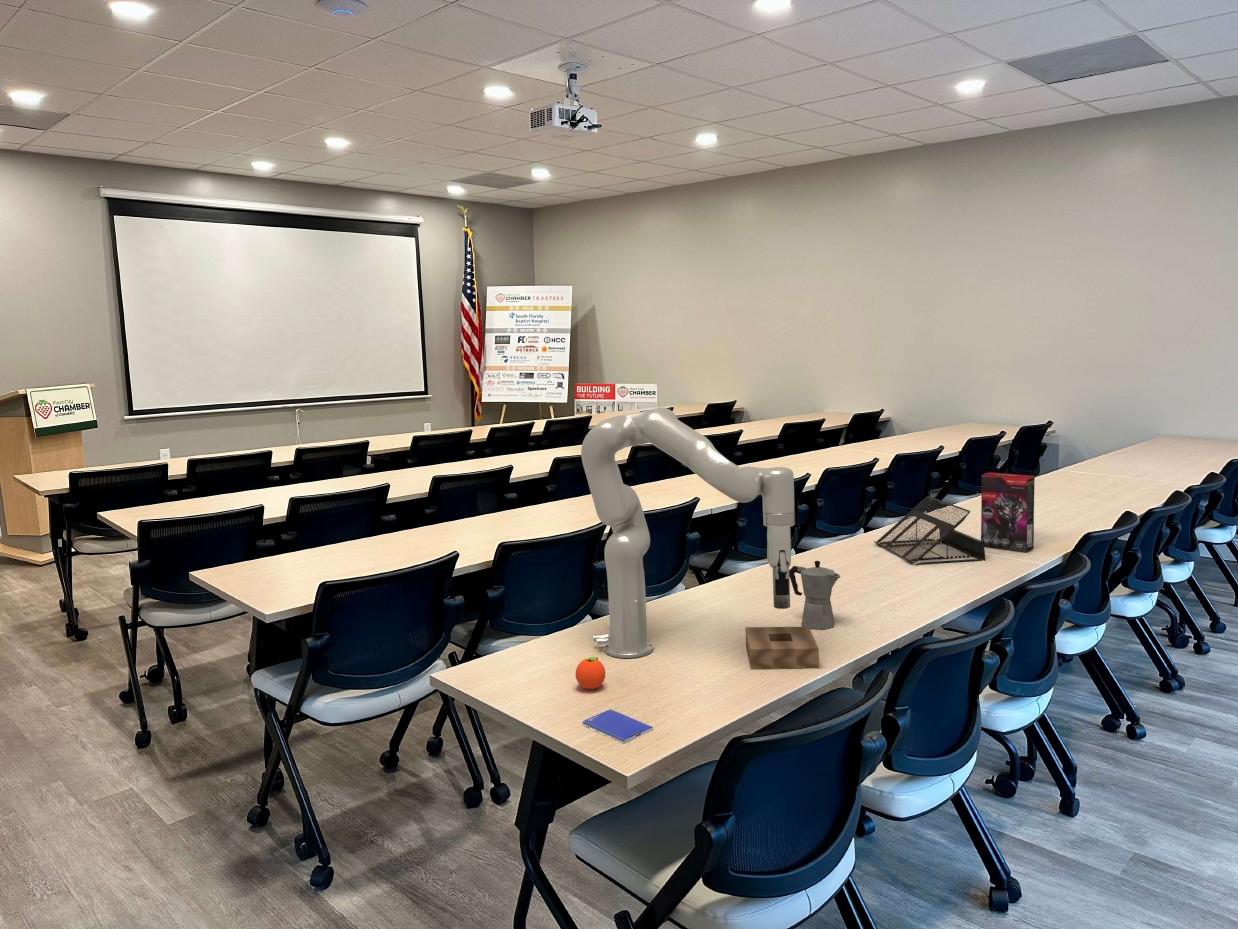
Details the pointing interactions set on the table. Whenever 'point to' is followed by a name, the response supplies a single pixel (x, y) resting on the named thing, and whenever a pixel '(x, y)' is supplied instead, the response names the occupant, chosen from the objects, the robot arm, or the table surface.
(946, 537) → the portable electronic device stand
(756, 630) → the socket block
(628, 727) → the hard drive
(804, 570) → the coffeepot
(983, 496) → the graphics card box
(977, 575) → the table surface
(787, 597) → the peg
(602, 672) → the clementine
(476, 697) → the table surface
